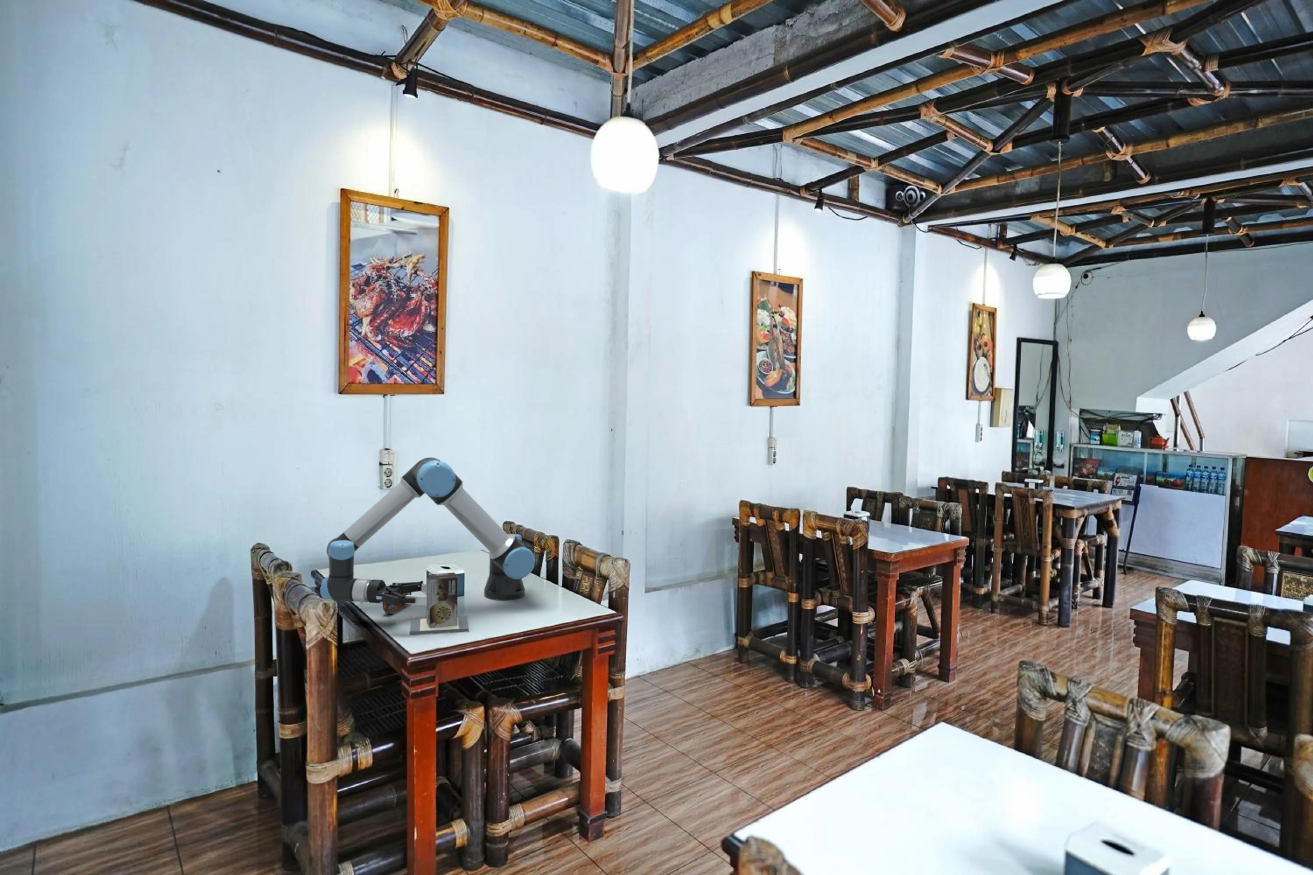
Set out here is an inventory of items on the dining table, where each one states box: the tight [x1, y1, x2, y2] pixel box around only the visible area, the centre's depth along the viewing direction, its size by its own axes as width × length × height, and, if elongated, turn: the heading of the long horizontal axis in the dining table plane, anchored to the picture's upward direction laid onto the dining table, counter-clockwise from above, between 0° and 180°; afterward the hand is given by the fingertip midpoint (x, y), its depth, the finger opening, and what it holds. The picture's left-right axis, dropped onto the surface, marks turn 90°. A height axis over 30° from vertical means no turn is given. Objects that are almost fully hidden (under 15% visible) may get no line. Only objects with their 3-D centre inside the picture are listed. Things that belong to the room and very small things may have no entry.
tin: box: [382, 592, 412, 615], centre depth 259 cm, size 15×3×8 cm, turn 168°
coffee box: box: [426, 572, 459, 628], centre depth 243 cm, size 9×6×16 cm
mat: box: [409, 614, 470, 636], centre depth 244 cm, size 18×14×1 cm
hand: (434, 594), depth 243 cm, fingers open, 13 cm apart
